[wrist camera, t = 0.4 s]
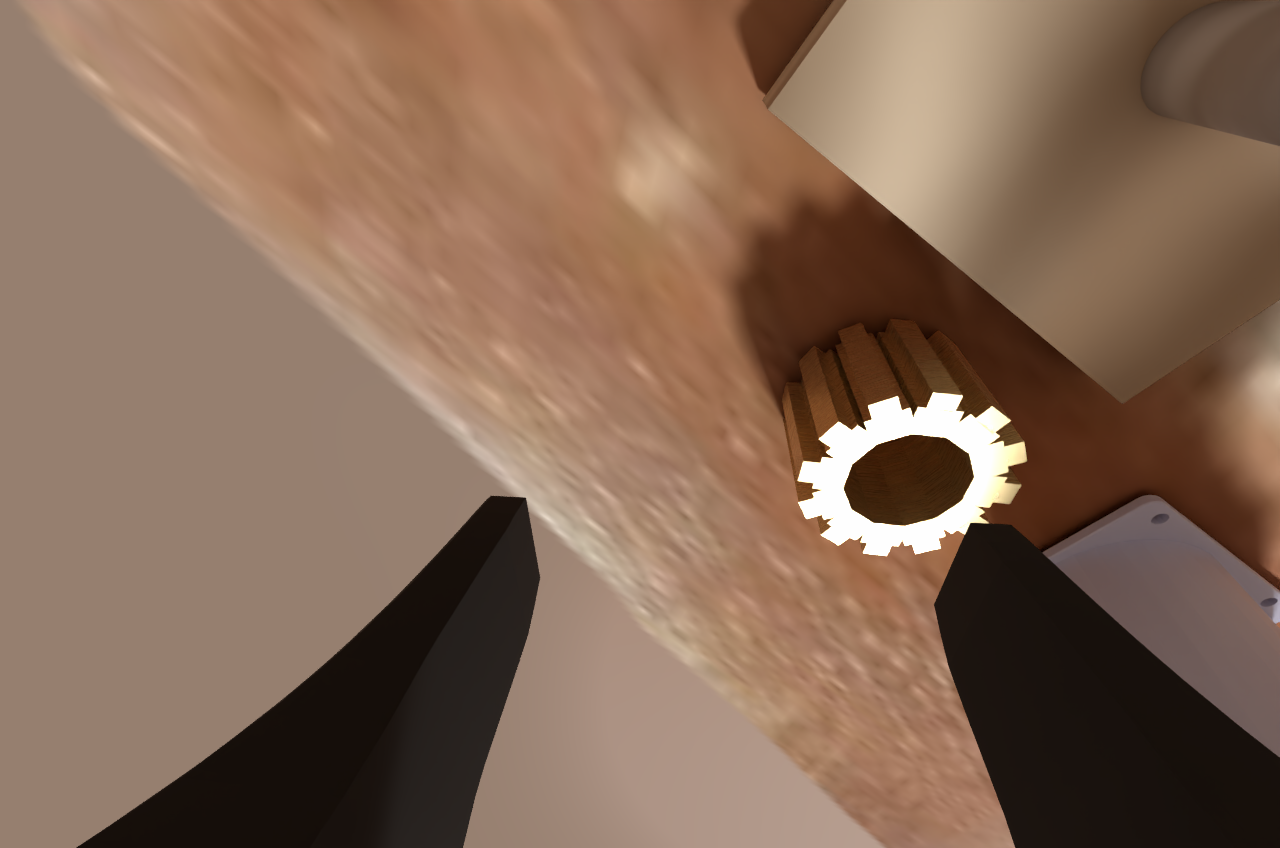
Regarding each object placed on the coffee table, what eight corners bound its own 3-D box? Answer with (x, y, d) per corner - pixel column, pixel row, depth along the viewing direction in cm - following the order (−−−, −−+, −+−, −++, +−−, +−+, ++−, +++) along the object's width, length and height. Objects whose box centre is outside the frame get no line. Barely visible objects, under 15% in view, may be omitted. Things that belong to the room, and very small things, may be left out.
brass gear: (1009, 385, 18) (1075, 469, 15) (868, 492, 21) (898, 580, 18) (877, 282, 16) (919, 351, 13) (746, 413, 20) (754, 495, 16)
